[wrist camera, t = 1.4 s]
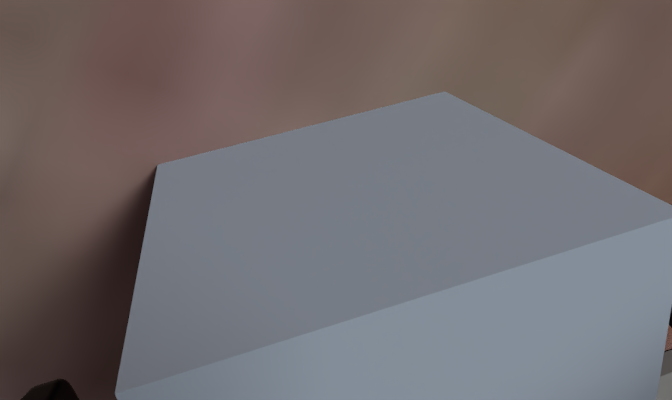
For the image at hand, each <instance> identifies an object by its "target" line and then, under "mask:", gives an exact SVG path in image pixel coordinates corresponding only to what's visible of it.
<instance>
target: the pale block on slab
mask: <svg viewBox="0 0 672 400" xmlns="http://www.w3.org/2000/svg"><path fill="white" fill-rule="evenodd" d="M656 400H672V350H669V351H666V352H664V356H663V362H662V368H661V374H660V380H659V386H658V392H657V398H656Z"/></svg>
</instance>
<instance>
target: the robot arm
mask: <svg viewBox="0 0 672 400" xmlns="http://www.w3.org/2000/svg"><path fill="white" fill-rule="evenodd" d="M669 325H670V326H671V327H672V307H671V313H670V319H669ZM21 400H79V398H78V397H77V395H76V393H75V391H74V390H73V388H72V386H71V385H70V384H69V382H68V381H66V380H64V379H57V380H53V381H50V382H47V383H44V384H40V385H37V386H35V387H33V388H32V389H31V390H29V391H28V392H27V393H26V395H25V396H24V397H23V398H22V399H21Z"/></svg>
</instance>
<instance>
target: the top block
mask: <svg viewBox="0 0 672 400" xmlns="http://www.w3.org/2000/svg"><path fill="white" fill-rule="evenodd" d="M671 307H672V205H670V204H668V203H666V202H664V201H662V200H660V199H658V198H656V197H654V196H652V195H650V194H648V193H646V192H644V191H642V190H640V189H638V188H636V187H634V186H632V185H630V184H628V183H626V182H624V181H622V180H620V179H618V178H616V177H614V176H612V175H610V174H608V173H606V172H604V171H602V170H600V169H598V168H596V167H594V166H592V165H590V164H588V163H586V162H584V161H582V160H580V159H578V158H576V157H574V156H572V155H570V154H568V153H566V152H564V151H562V150H560V149H558V148H556V147H554V146H552V145H550V144H548V143H546V142H544V141H542V140H540V139H538V138H536V137H535V136H533V135H531V134H529V133H527V132H525V131H523V130H521V129H519V128H517V127H515V126H513V125H511V124H509V123H507V122H505V121H503V120H501V119H499V118H497V117H495V116H493V115H491V114H489V113H487V112H485V111H483V110H481V109H479V108H477V107H475V106H473V105H471V104H469V103H467V102H465V101H463V100H461V99H459V98H457V97H455V96H453V95H451V94H449V93H447V92H441V93H437V94H433V95H429V96H425V97H422V98H418V99H414V100H410V101H406V102H402V103H398V104H394V105H390V106H386V107H382V108H378V109H375V110H371V111H367V112H363V113H359V114H355V115H351V116H347V117H343V118H339V119H335V120H332V121H328V122H324V123H320V124H316V125H312V126H308V127H304V128H300V129H296V130H292V131H288V132H285V133H281V134H277V135H273V136H269V137H265V138H261V139H257V140H253V141H249V142H245V143H242V144H238V145H234V146H230V147H226V148H222V149H218V150H214V151H210V152H206V153H202V154H198V155H195V156H191V157H187V158H183V159H179V160H175V161H171V162H167V163H163V164H159V165H157V171H156V176H155V181H154V187H153V192H152V197H151V203H150V208H149V213H148V219H147V224H146V229H145V235H144V240H143V245H142V251H141V256H140V261H139V267H138V272H137V277H136V283H135V288H134V293H133V299H132V304H131V309H130V315H129V320H128V325H127V331H126V336H125V341H124V347H123V352H122V357H121V363H120V368H119V373H118V379H117V384H116V389H115V396H116V398H117V400H656V398H657V392H658V386H659V380H660V374H661V368H662V362H663V356H664V350H665V343H666V337H667V331H668V325H669V319H670V313H671Z"/></svg>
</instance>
